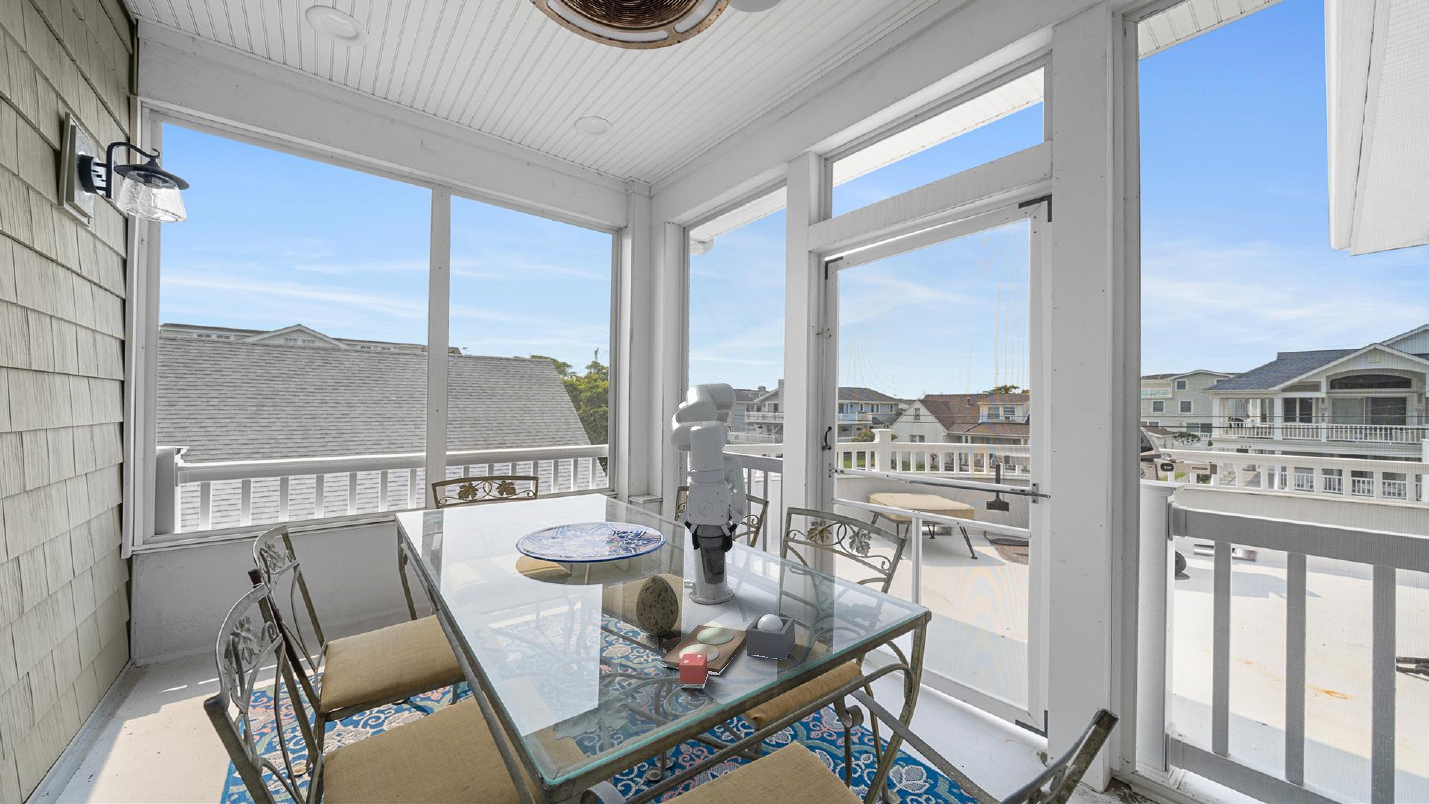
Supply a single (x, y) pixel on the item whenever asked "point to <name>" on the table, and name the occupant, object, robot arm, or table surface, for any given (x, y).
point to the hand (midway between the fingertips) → (712, 548)
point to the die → (693, 669)
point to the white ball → (770, 623)
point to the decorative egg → (657, 606)
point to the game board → (709, 646)
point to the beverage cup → (712, 552)
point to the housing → (770, 639)
